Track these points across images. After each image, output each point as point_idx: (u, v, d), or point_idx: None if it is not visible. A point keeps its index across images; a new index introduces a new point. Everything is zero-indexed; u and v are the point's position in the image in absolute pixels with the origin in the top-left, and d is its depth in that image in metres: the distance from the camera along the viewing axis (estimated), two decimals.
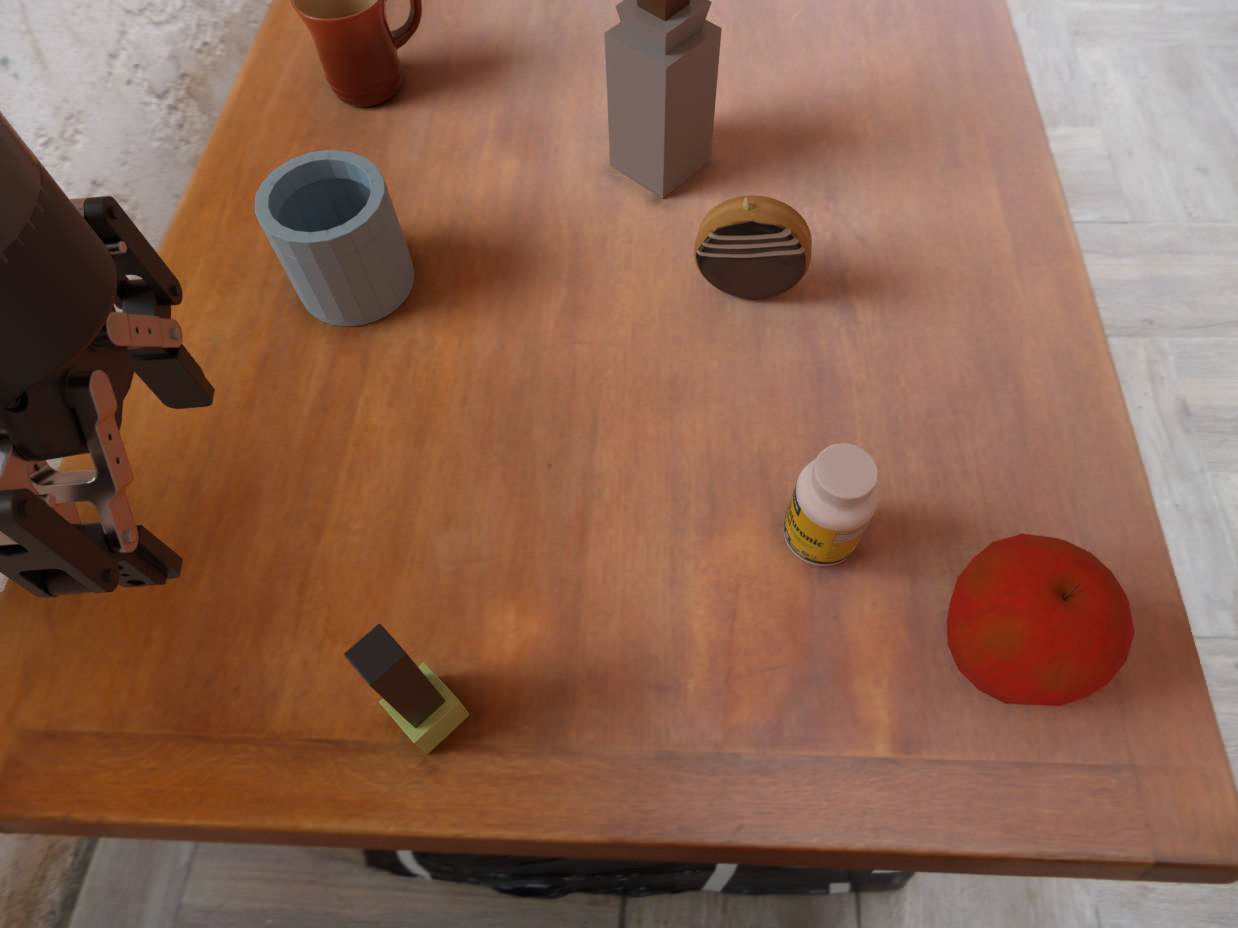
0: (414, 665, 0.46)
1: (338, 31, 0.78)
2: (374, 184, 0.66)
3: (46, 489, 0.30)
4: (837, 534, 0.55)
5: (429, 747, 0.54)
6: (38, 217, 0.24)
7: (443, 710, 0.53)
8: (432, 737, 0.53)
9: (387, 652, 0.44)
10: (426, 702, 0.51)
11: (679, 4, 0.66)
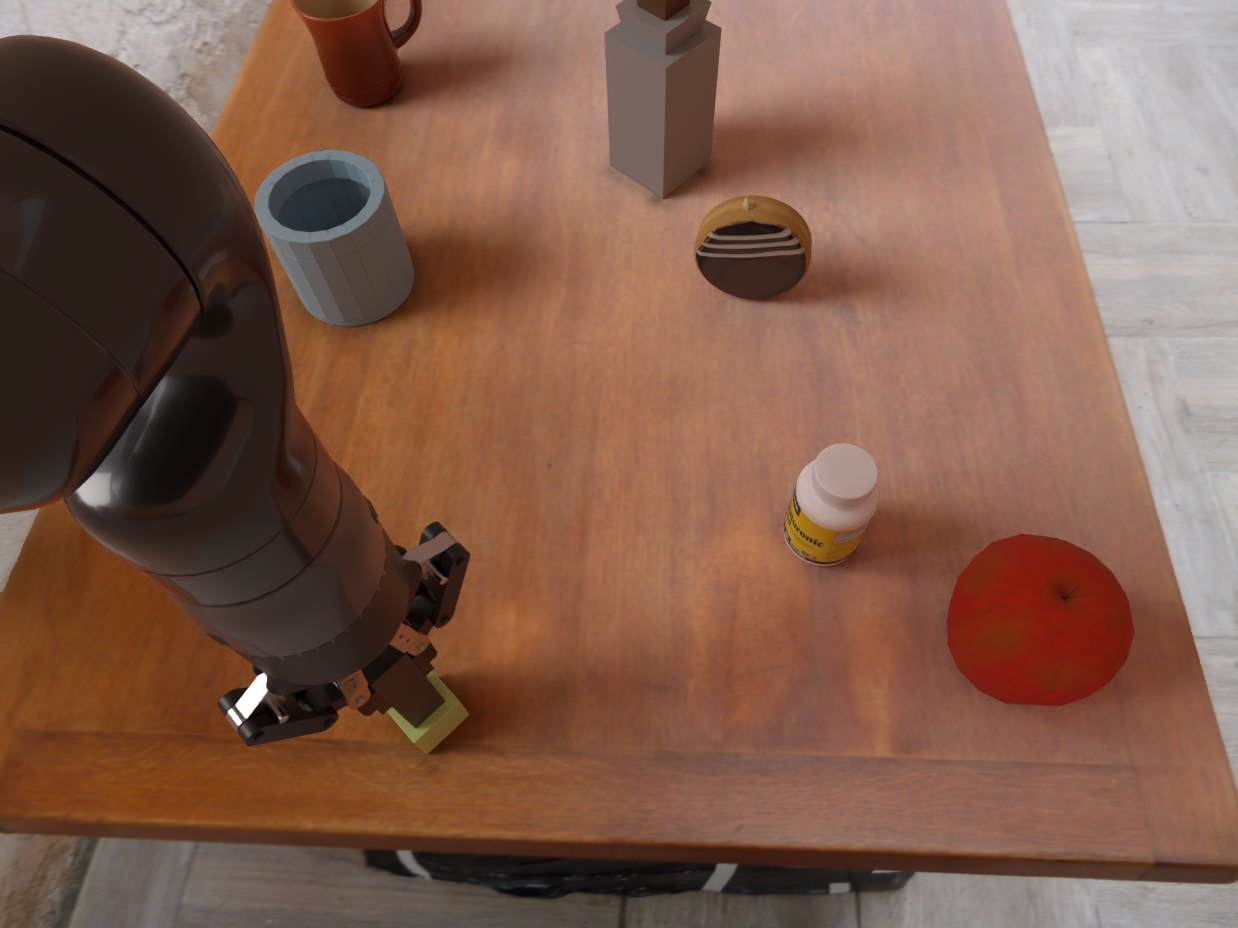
0: (414, 665, 0.46)
1: (338, 31, 0.78)
2: (374, 184, 0.66)
3: None
4: (837, 534, 0.55)
5: (429, 747, 0.54)
6: (341, 635, 0.32)
7: (443, 710, 0.53)
8: (432, 737, 0.53)
9: (387, 652, 0.44)
10: (426, 702, 0.51)
11: (679, 4, 0.66)
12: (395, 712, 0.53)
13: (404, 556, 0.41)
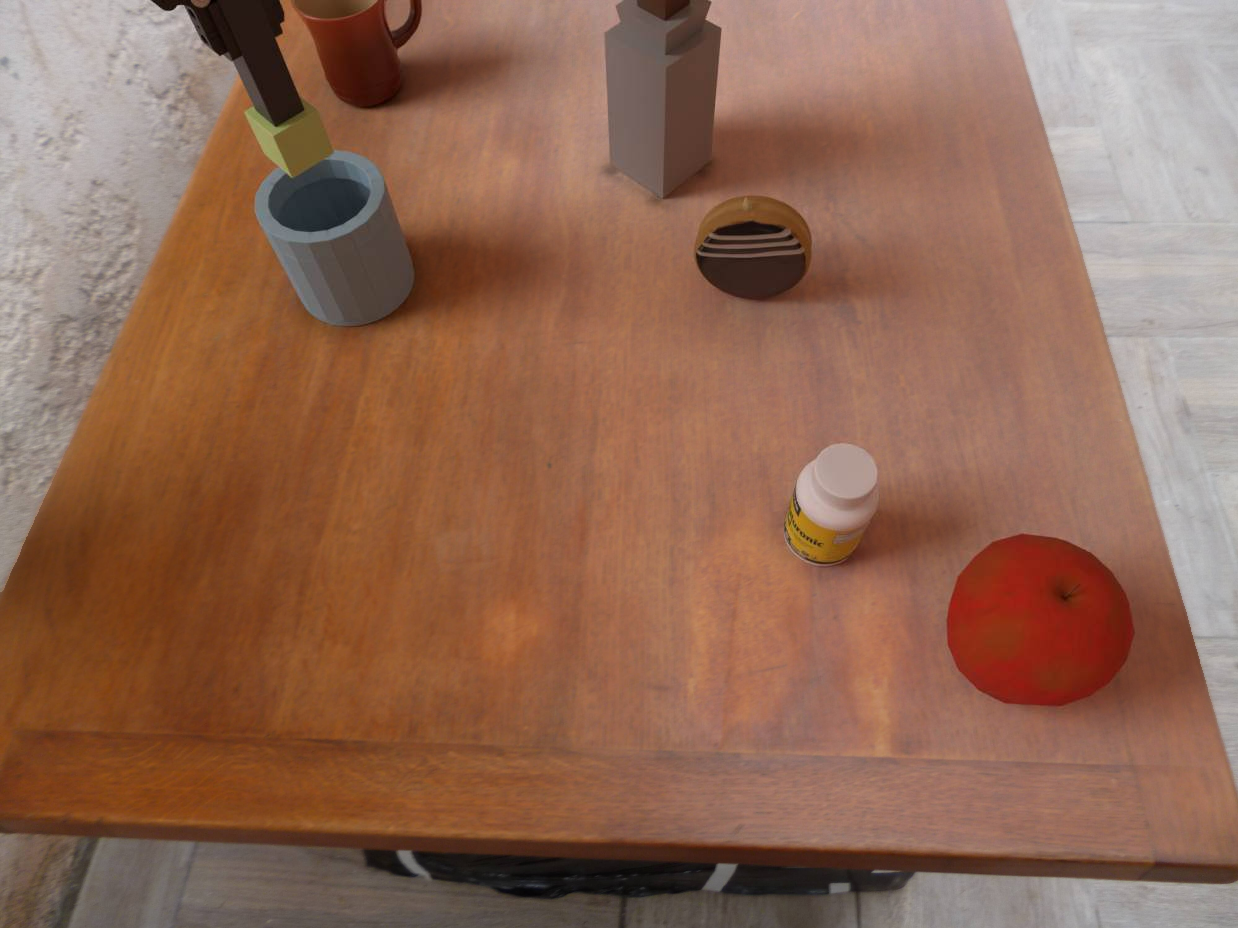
0: None
1: (338, 31, 0.78)
2: (374, 184, 0.66)
3: None
4: (837, 534, 0.55)
5: (293, 166, 0.59)
6: None
7: (302, 115, 0.57)
8: (294, 149, 0.58)
9: None
10: (281, 87, 0.55)
11: (679, 4, 0.66)
12: (258, 118, 0.57)
13: None
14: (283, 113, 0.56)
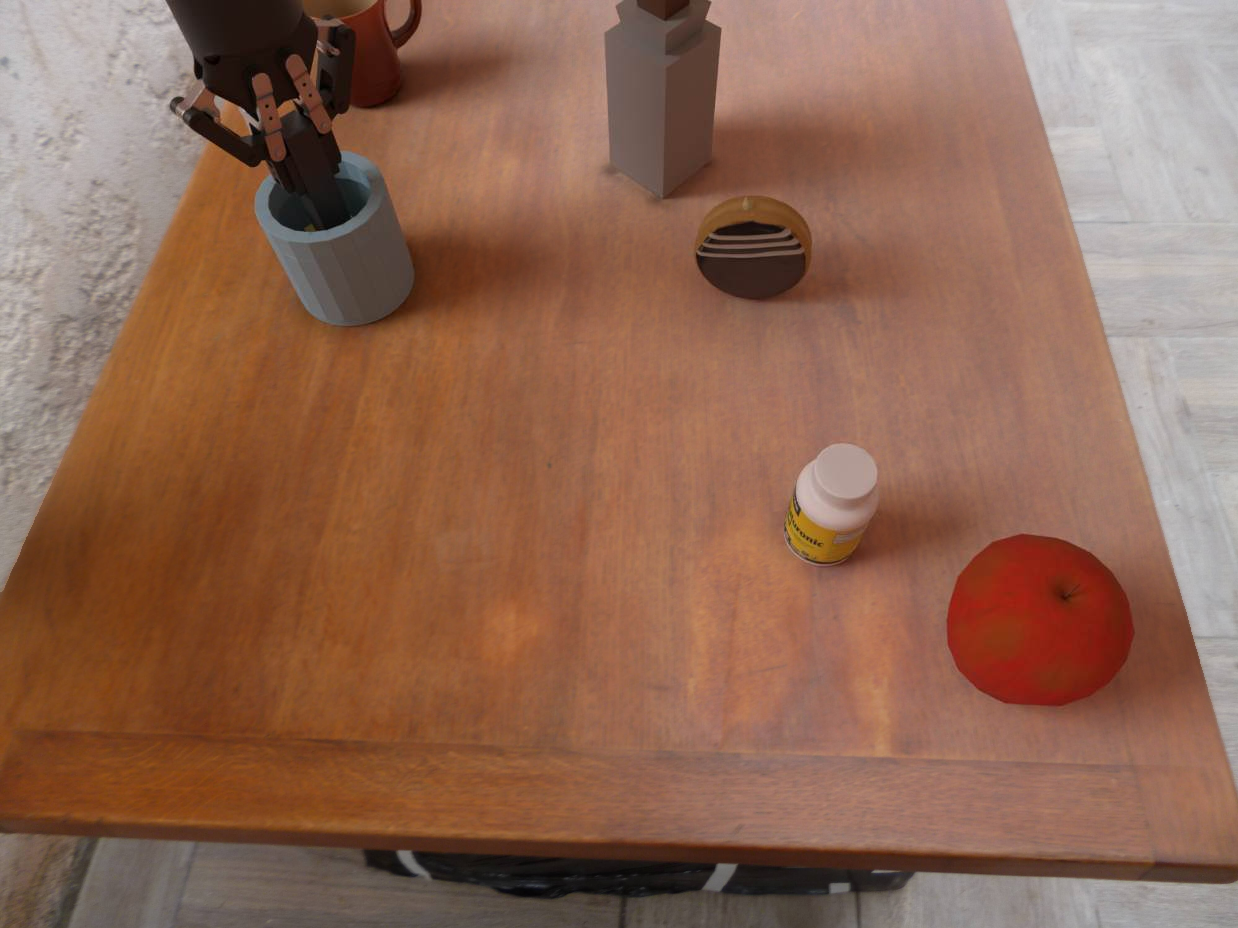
0: (321, 147, 0.62)
1: None
2: (374, 184, 0.66)
3: (245, 114, 0.58)
4: (837, 534, 0.55)
5: None
6: None
7: None
8: None
9: (298, 124, 0.60)
10: (337, 212, 0.67)
11: (679, 4, 0.66)
12: None
13: None
14: None
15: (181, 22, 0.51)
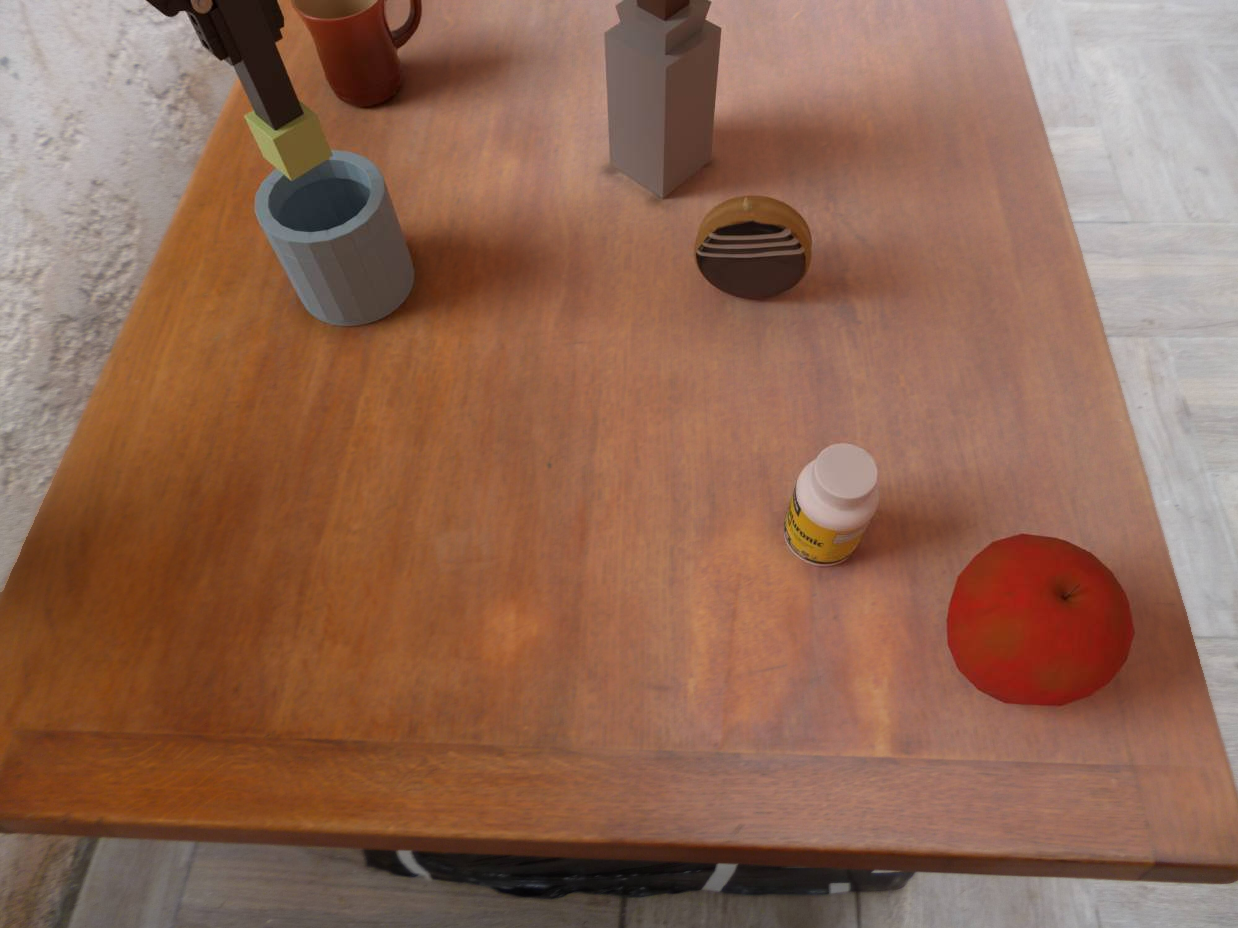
0: (257, 1, 0.51)
1: (338, 31, 0.78)
2: (374, 184, 0.66)
3: None
4: (837, 534, 0.55)
5: (292, 169, 0.60)
6: None
7: (301, 119, 0.58)
8: (293, 152, 0.59)
9: None
10: (281, 91, 0.56)
11: (679, 4, 0.66)
12: (258, 122, 0.58)
13: None
14: (283, 117, 0.57)
15: None
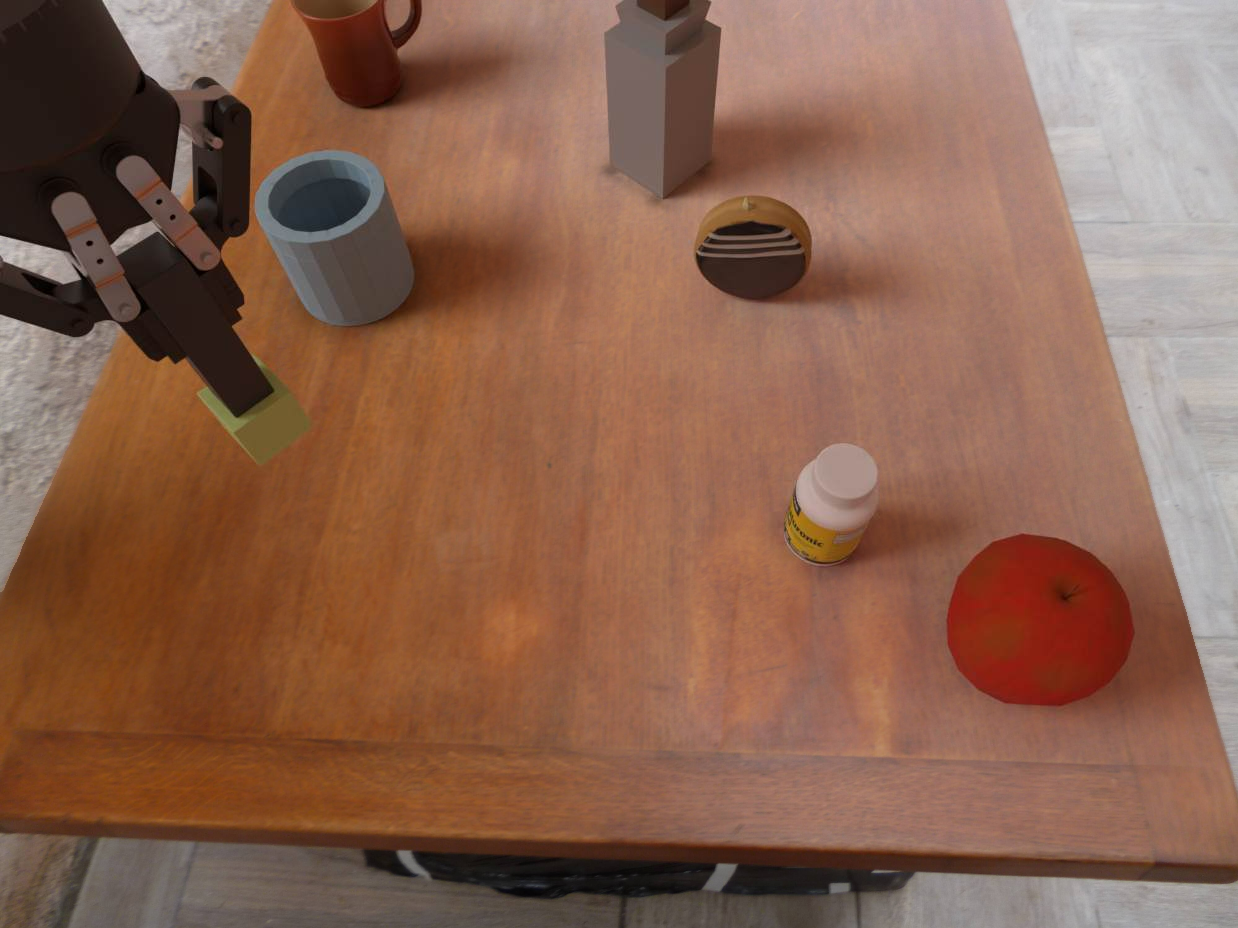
0: (205, 290, 0.38)
1: (338, 31, 0.78)
2: (374, 184, 0.66)
3: None
4: (837, 534, 0.55)
5: (261, 454, 0.46)
6: None
7: (271, 400, 0.45)
8: (261, 437, 0.45)
9: (162, 258, 0.36)
10: (243, 376, 0.43)
11: (679, 4, 0.66)
12: (214, 403, 0.45)
13: None
14: (246, 402, 0.44)
15: None
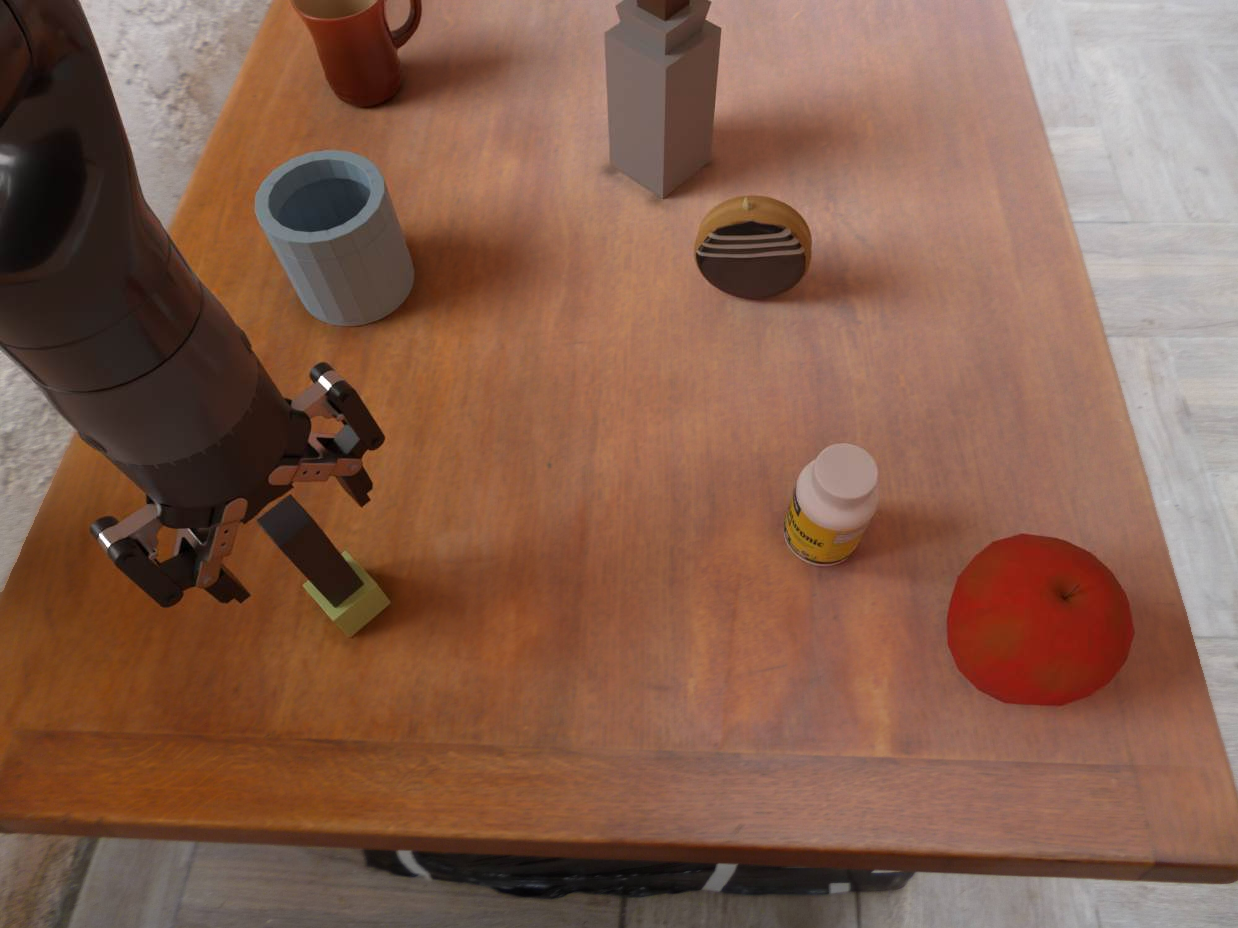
0: (323, 535, 0.50)
1: (338, 31, 0.78)
2: (374, 184, 0.66)
3: None
4: (837, 534, 0.55)
5: (351, 630, 0.58)
6: (213, 448, 0.35)
7: (362, 592, 0.57)
8: (352, 619, 0.57)
9: (295, 519, 0.48)
10: (343, 580, 0.55)
11: (679, 4, 0.66)
12: (317, 594, 0.57)
13: (289, 406, 0.43)
14: (343, 596, 0.56)
15: (125, 474, 0.37)
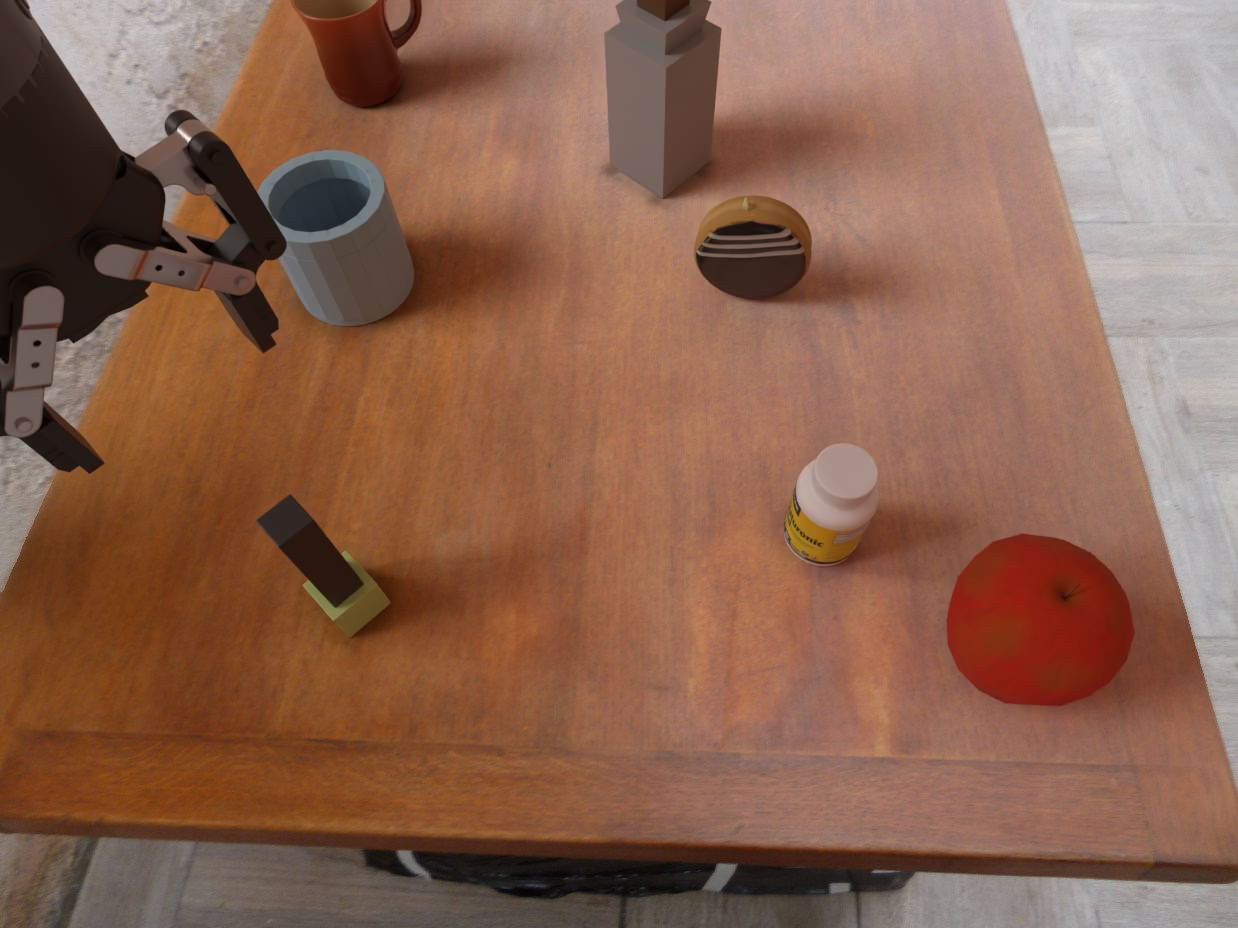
0: (323, 535, 0.50)
1: (338, 31, 0.78)
2: (374, 184, 0.66)
3: None
4: (837, 534, 0.55)
5: (351, 630, 0.58)
6: None
7: (362, 592, 0.57)
8: (352, 619, 0.57)
9: (295, 519, 0.48)
10: (343, 580, 0.55)
11: (679, 4, 0.66)
12: (317, 594, 0.57)
13: None
14: (343, 596, 0.56)
15: None
